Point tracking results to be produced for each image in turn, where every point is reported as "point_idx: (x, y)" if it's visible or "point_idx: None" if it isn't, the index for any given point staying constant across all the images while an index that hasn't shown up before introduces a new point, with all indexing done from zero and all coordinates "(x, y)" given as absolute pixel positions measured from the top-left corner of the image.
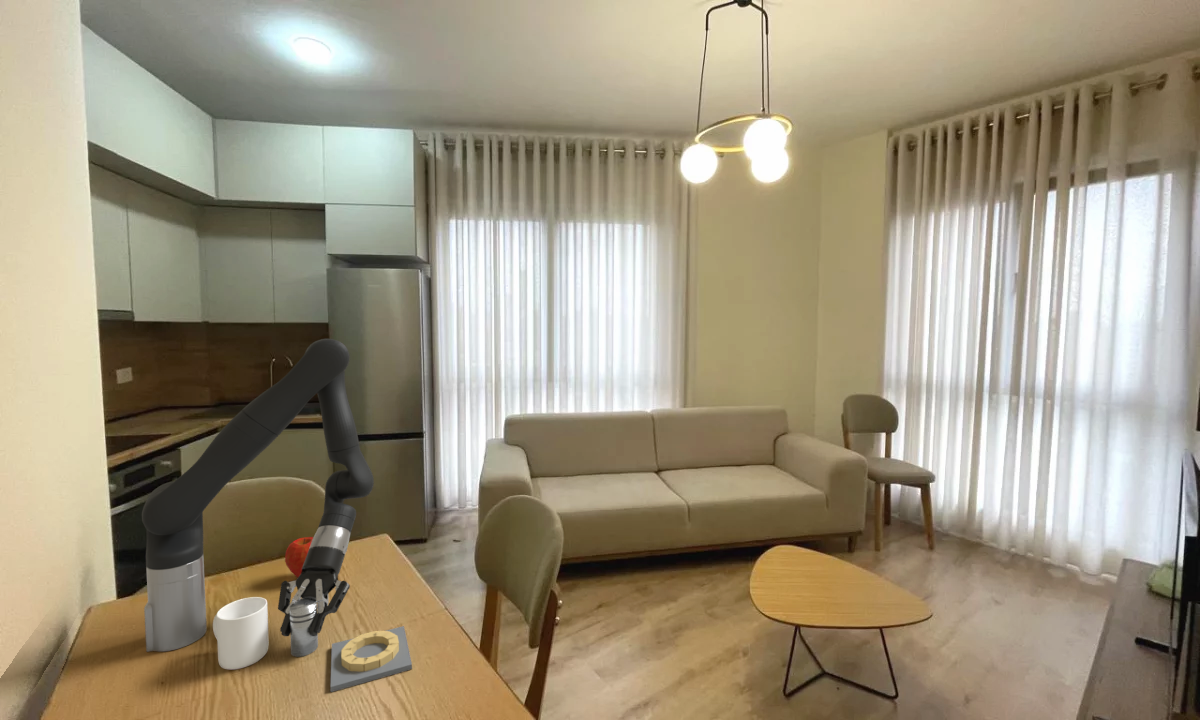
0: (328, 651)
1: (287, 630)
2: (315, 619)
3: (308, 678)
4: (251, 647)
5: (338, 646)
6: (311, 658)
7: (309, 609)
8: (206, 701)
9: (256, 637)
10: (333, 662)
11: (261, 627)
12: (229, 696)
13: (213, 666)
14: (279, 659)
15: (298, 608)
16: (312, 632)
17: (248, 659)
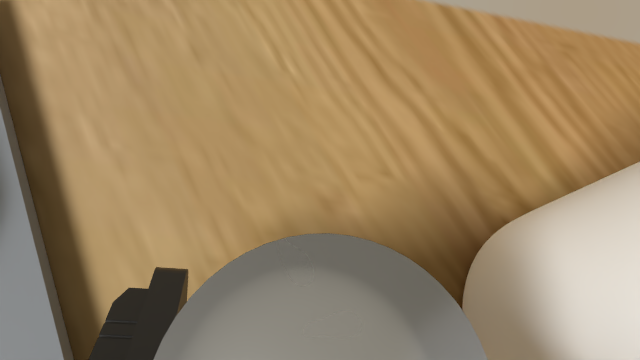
0: None
1: None
2: (148, 345)
3: (134, 116)
4: (531, 223)
5: (7, 344)
6: None
7: (192, 298)
8: (494, 50)
9: (553, 239)
10: (1, 172)
11: (583, 265)
12: (429, 61)
13: None
14: None
15: (349, 305)
16: (160, 270)
17: (502, 231)
